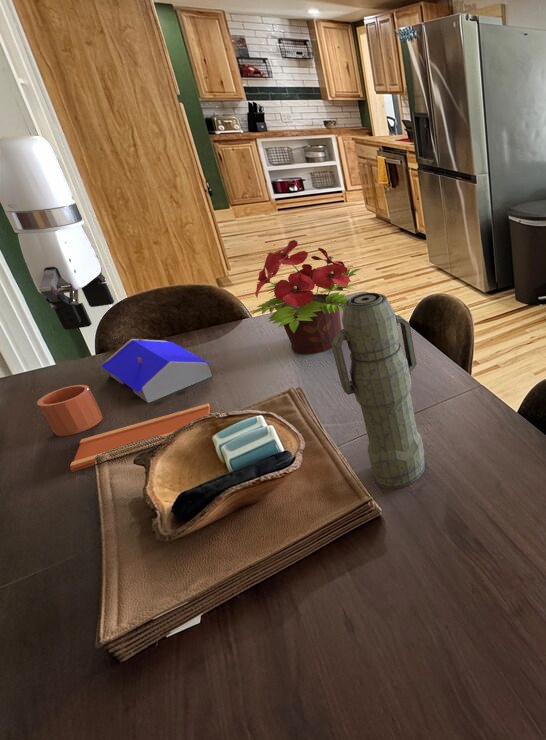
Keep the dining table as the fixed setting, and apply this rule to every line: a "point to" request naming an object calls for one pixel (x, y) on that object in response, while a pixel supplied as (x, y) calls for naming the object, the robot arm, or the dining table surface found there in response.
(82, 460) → the orange rectangular tray
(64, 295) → the robot arm
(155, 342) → the roof
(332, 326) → the potted plant
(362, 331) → the thermos
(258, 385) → the dining table surface
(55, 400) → the terracotta pot
